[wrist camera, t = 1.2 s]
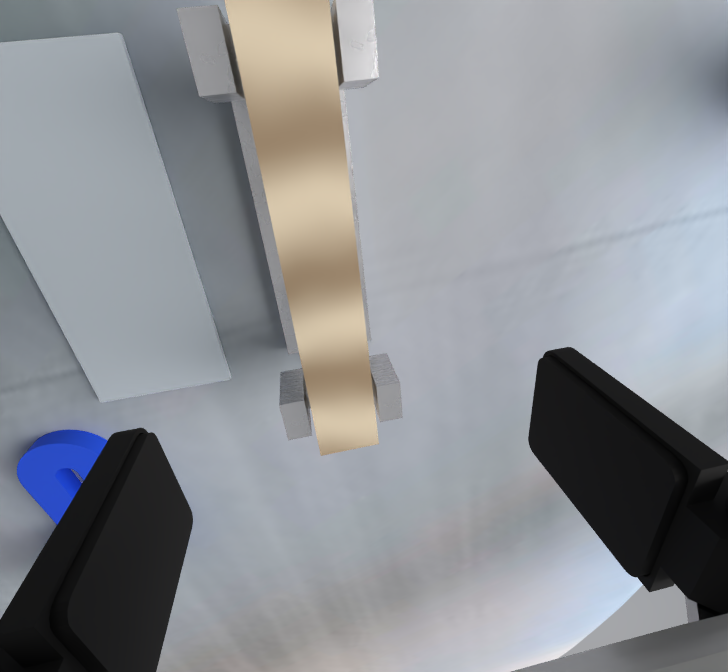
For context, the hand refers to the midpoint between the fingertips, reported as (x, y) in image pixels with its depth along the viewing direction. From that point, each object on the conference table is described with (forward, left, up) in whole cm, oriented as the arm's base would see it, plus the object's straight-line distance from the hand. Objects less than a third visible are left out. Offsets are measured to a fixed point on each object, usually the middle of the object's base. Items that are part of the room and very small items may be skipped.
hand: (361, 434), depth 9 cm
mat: (0, -16, -26) cm, 31 cm away
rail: (0, 0, -16) cm, 16 cm away
